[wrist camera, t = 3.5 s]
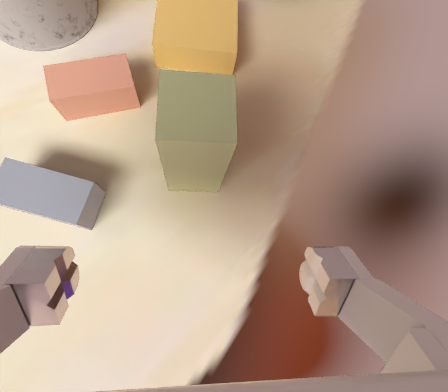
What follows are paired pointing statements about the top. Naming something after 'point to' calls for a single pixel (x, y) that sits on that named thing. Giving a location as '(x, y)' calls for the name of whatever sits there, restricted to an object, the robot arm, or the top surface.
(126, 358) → the top surface
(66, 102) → the terracotta brick
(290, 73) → the top surface
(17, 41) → the speckled grey cylinder
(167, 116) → the olive brick
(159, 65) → the ochre slab
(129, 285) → the top surface
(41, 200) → the slate brick
